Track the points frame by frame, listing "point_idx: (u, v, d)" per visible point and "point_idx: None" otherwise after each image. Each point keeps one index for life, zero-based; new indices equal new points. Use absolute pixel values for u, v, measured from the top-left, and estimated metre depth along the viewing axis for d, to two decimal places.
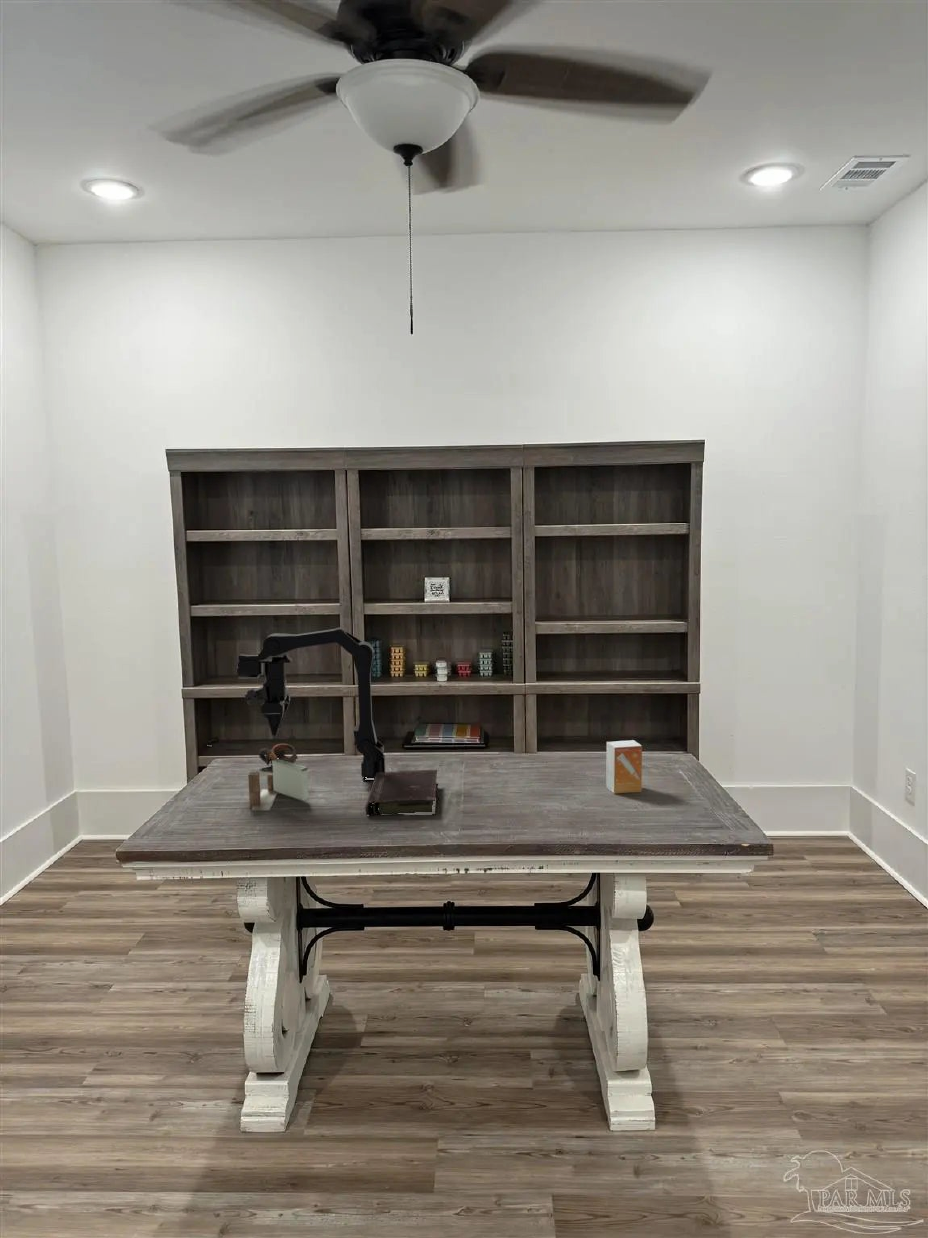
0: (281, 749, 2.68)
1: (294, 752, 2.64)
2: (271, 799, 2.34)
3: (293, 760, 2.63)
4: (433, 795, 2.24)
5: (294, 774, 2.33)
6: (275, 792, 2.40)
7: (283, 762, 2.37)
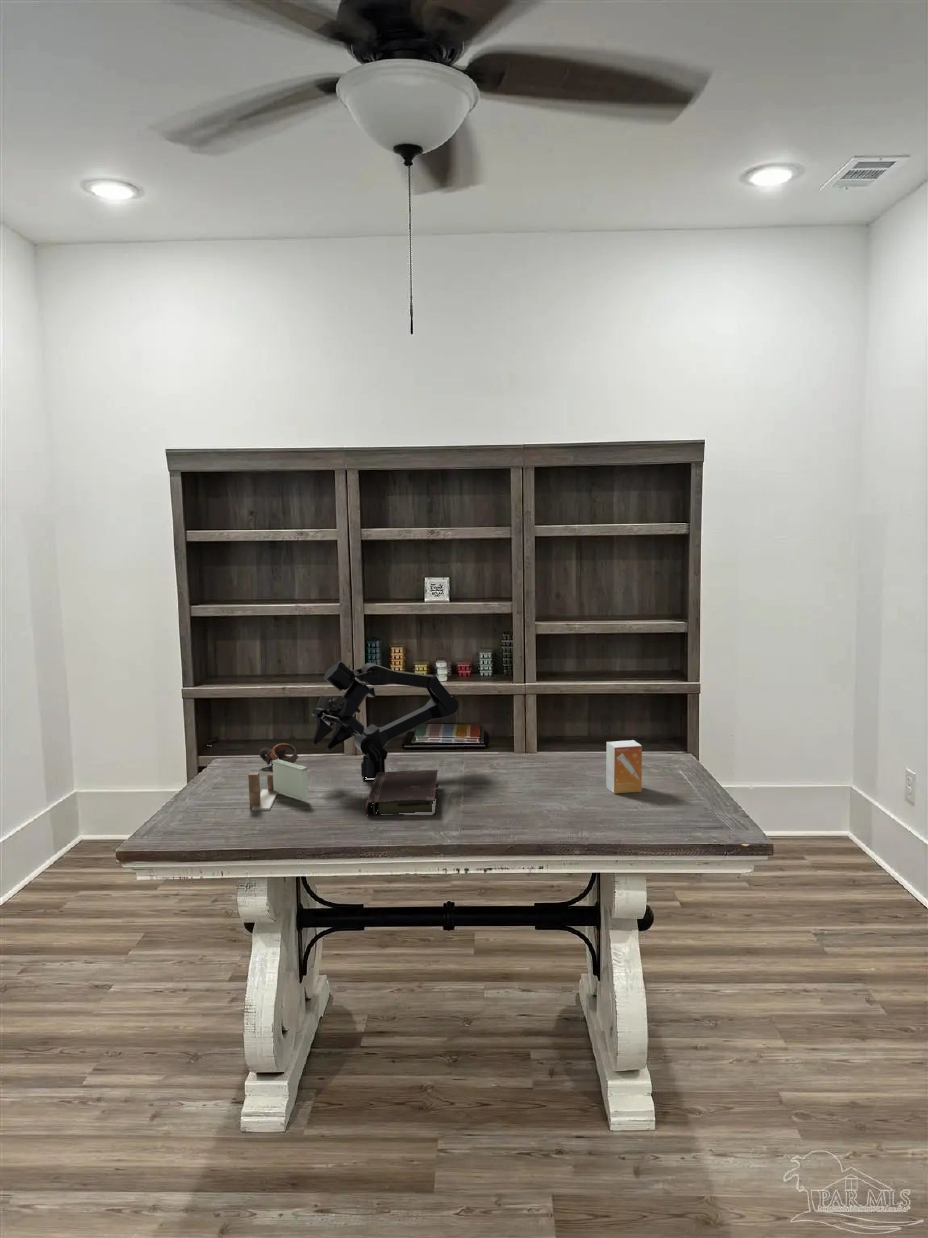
0: (281, 749, 2.69)
1: (295, 752, 2.64)
2: (271, 799, 2.34)
3: (294, 760, 2.63)
4: (433, 795, 2.24)
5: (294, 774, 2.33)
6: (275, 792, 2.40)
7: (283, 762, 2.37)
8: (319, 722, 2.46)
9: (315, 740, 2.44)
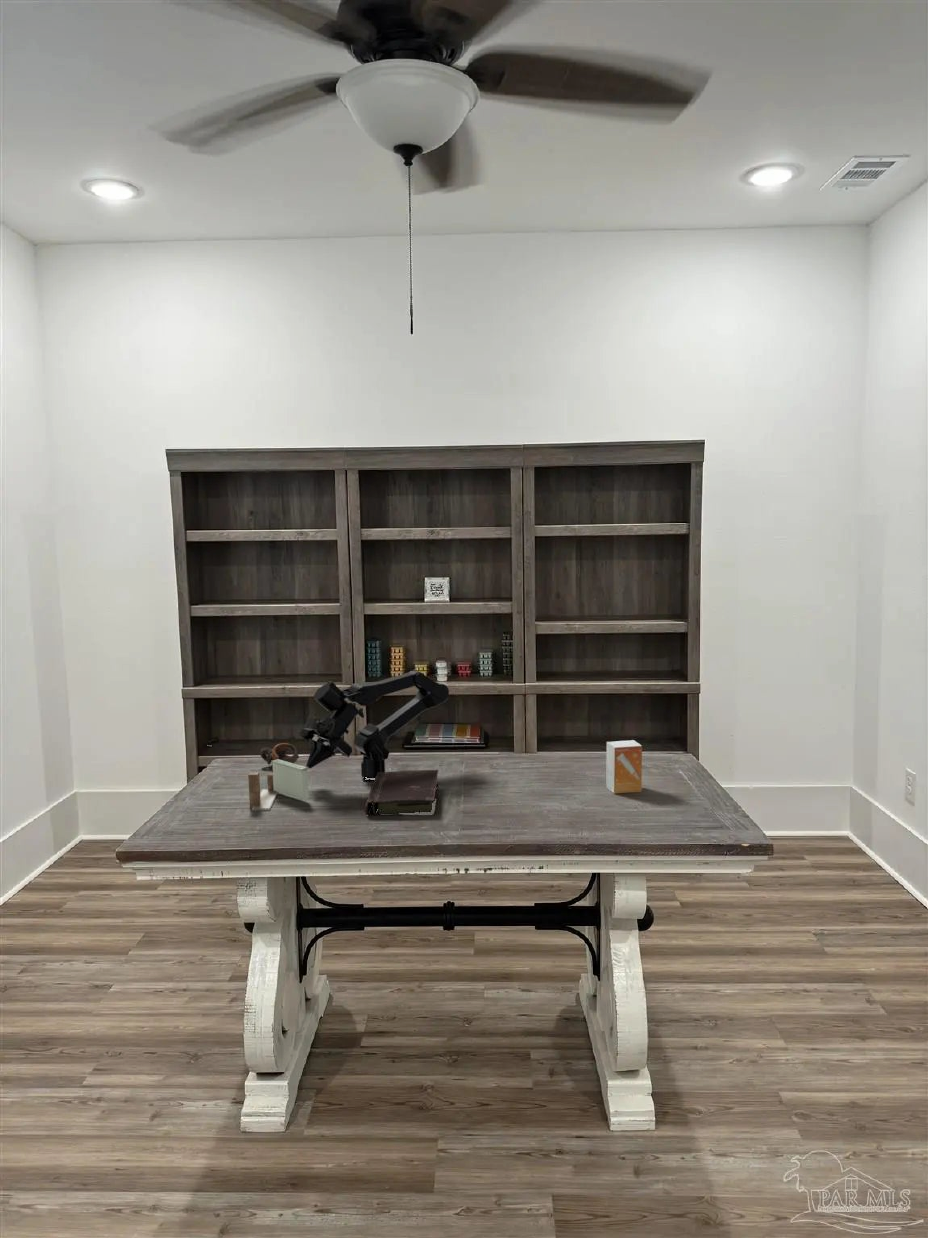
0: (282, 749, 2.69)
1: (295, 751, 2.65)
2: (271, 799, 2.34)
3: (294, 759, 2.64)
4: (433, 795, 2.24)
5: (294, 774, 2.33)
6: (275, 792, 2.40)
7: (283, 762, 2.37)
8: (313, 745, 2.41)
9: None
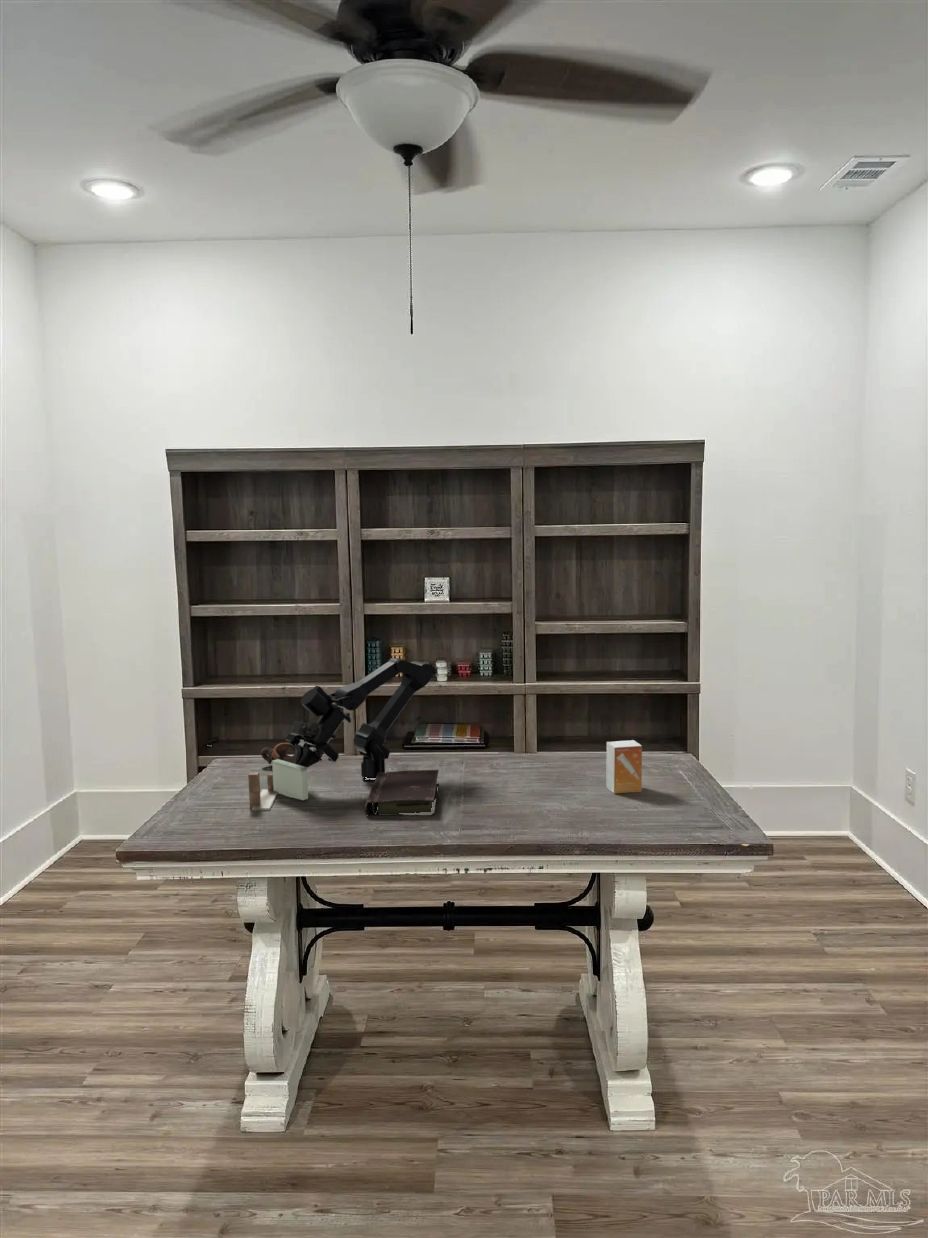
0: (283, 748, 2.69)
1: (296, 751, 2.65)
2: (271, 799, 2.34)
3: (295, 759, 2.64)
4: (432, 795, 2.24)
5: (294, 774, 2.33)
6: (275, 792, 2.40)
7: (283, 762, 2.37)
8: (299, 750, 2.38)
9: None
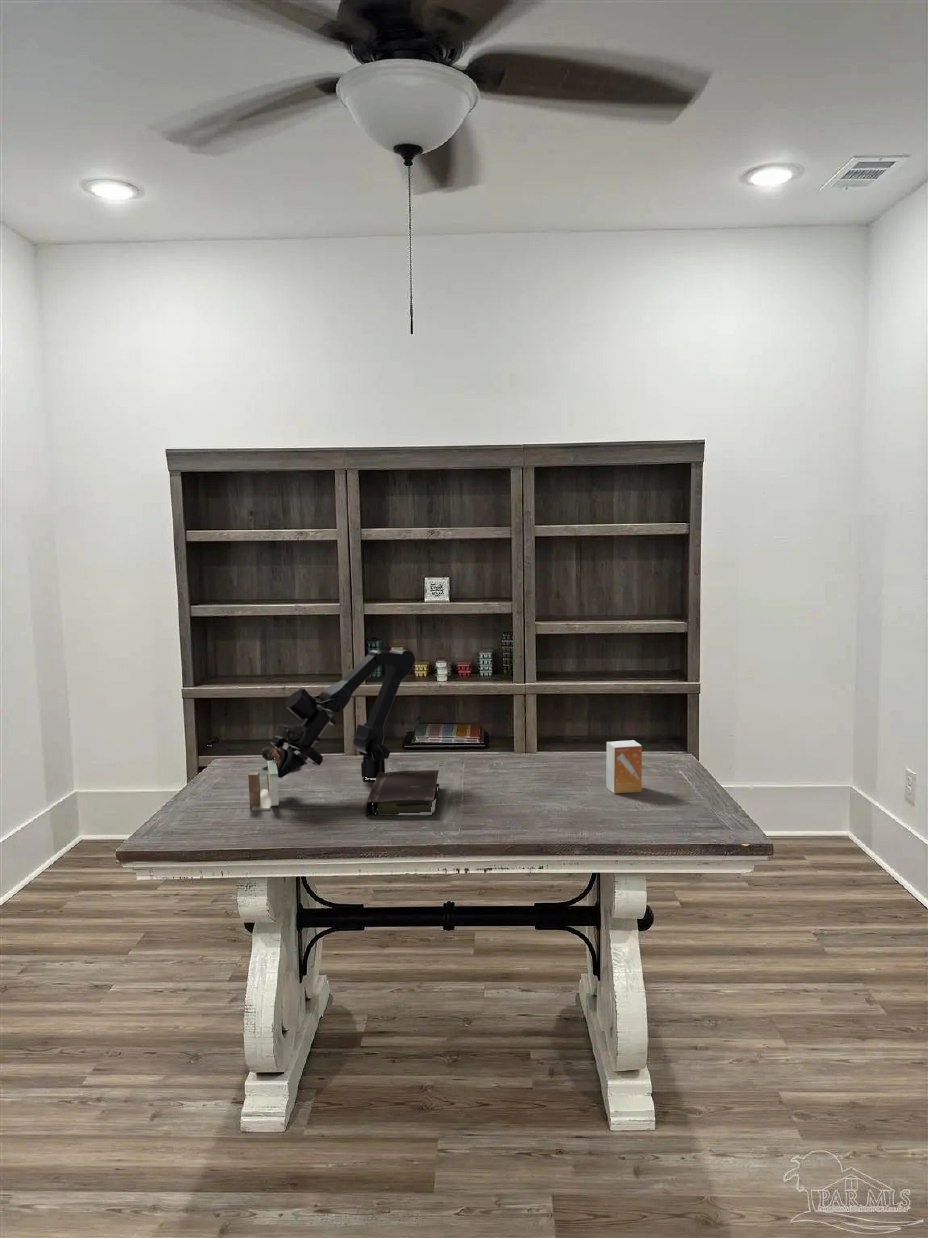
0: None
1: None
2: None
3: None
4: (432, 795, 2.24)
5: None
6: None
7: (271, 764, 2.35)
8: (283, 753, 2.35)
9: None
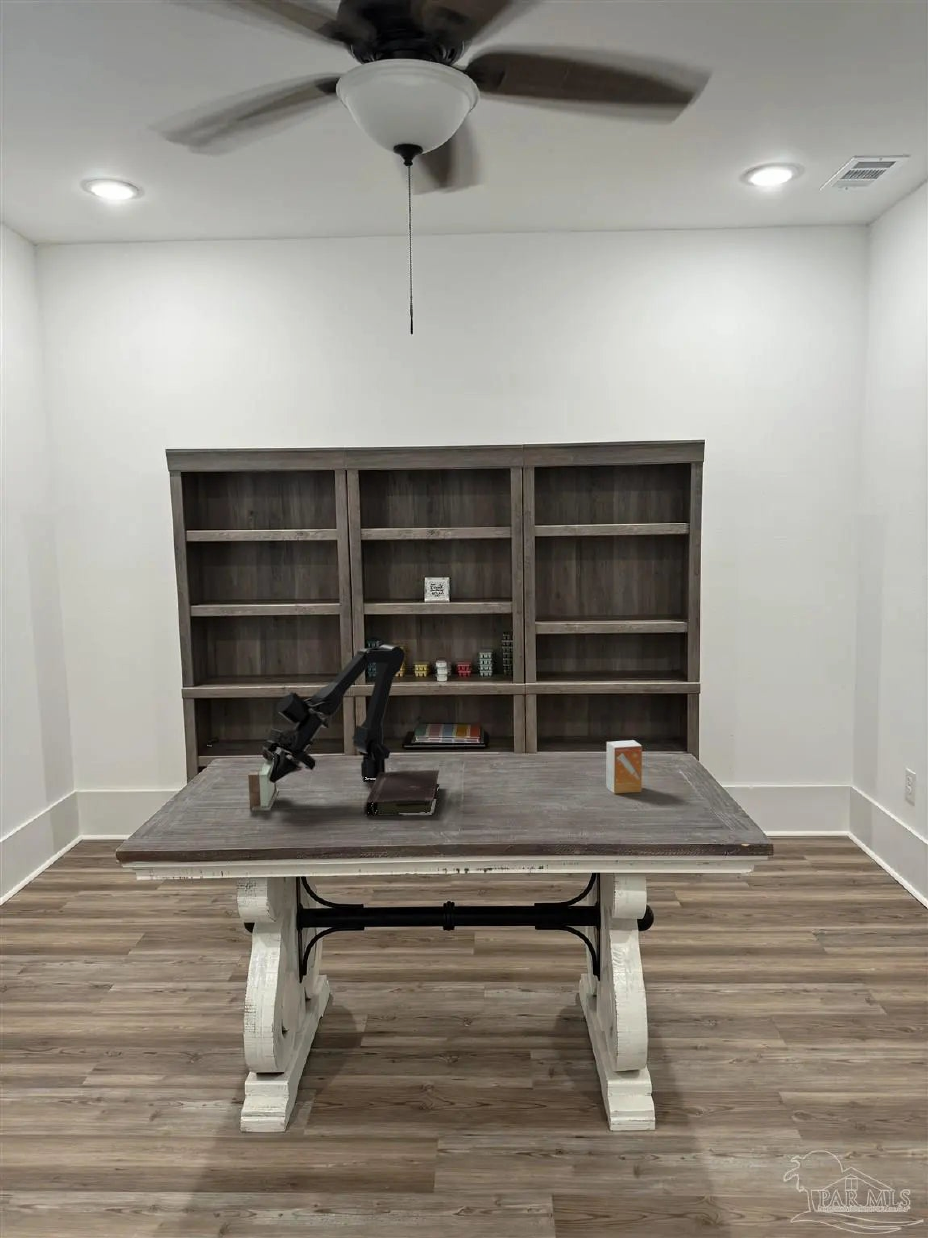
0: None
1: None
2: (271, 799, 2.34)
3: None
4: (432, 795, 2.24)
5: None
6: (275, 792, 2.40)
7: (266, 765, 2.35)
8: (276, 758, 2.34)
9: None
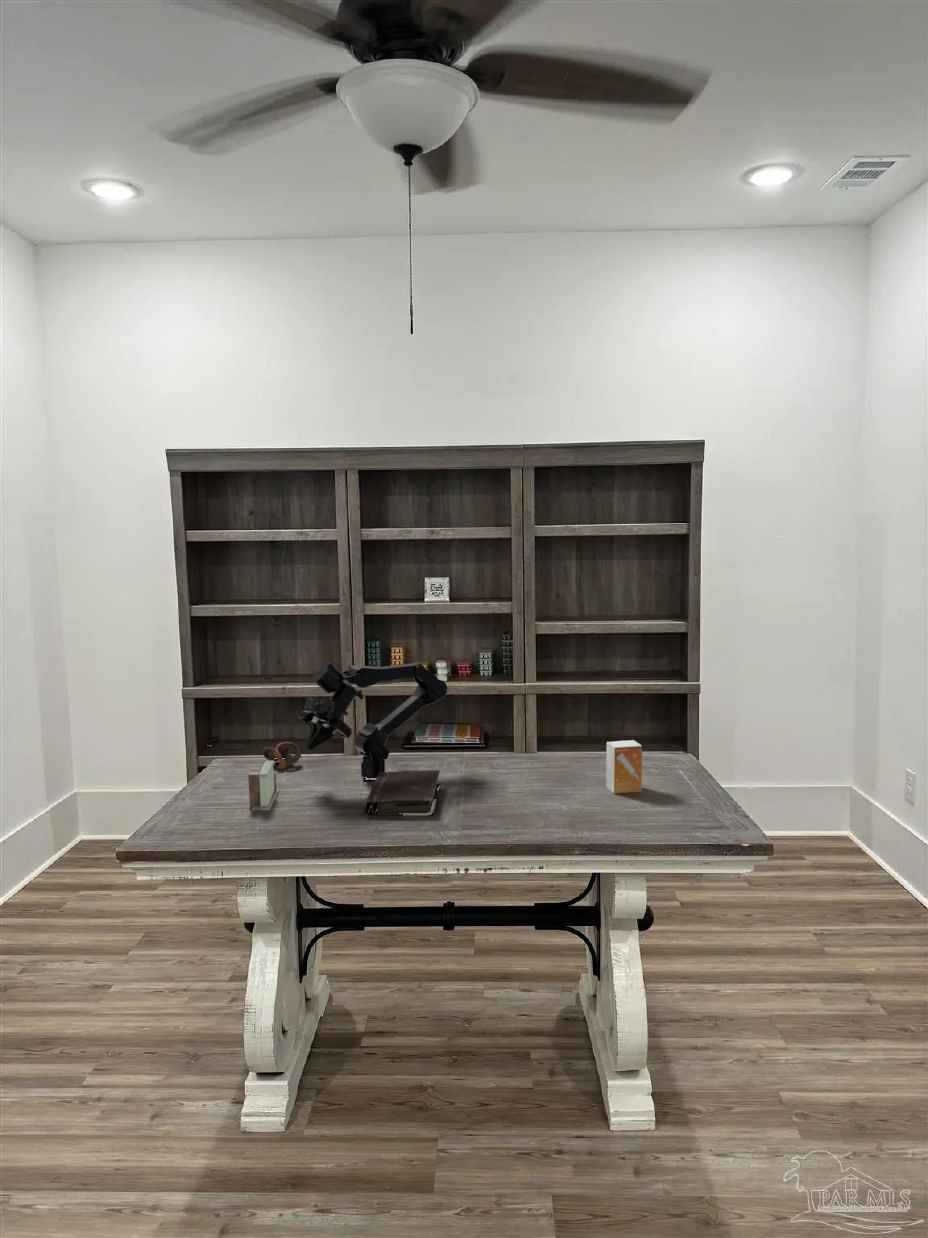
0: (284, 747, 2.70)
1: (298, 750, 2.66)
2: (271, 799, 2.34)
3: (297, 758, 2.65)
4: (431, 796, 2.23)
5: None
6: (275, 792, 2.40)
7: (266, 765, 2.35)
8: (313, 727, 2.41)
9: None
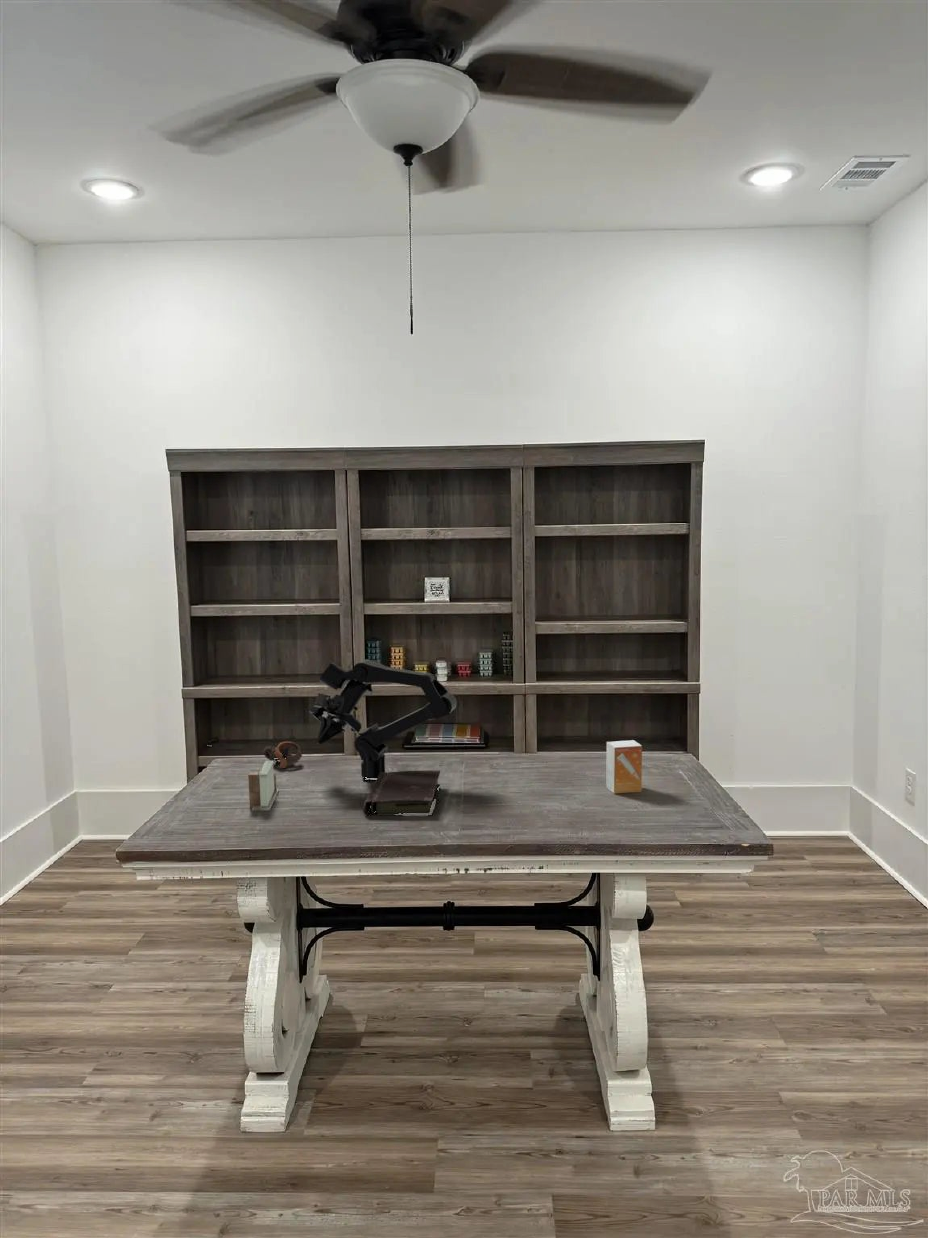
0: (285, 747, 2.71)
1: (299, 750, 2.67)
2: (271, 799, 2.34)
3: (298, 758, 2.66)
4: (431, 796, 2.23)
5: None
6: (275, 792, 2.40)
7: (266, 765, 2.35)
8: (323, 721, 2.46)
9: None
